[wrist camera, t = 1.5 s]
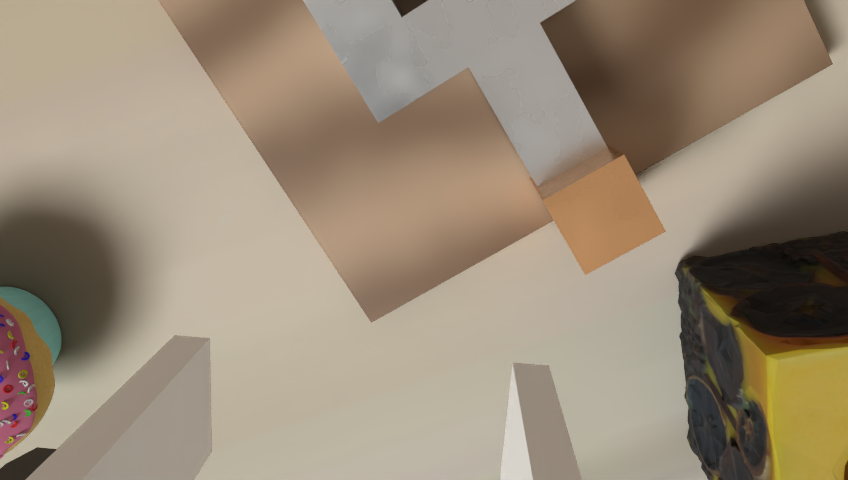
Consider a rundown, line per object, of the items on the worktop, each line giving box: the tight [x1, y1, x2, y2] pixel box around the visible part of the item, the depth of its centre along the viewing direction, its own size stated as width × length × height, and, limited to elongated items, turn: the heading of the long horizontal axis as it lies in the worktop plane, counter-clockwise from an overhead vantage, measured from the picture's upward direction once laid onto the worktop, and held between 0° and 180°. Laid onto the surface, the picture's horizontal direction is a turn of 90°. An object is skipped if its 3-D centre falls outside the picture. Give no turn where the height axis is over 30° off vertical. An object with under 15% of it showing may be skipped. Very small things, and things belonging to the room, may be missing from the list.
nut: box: [303, 0, 666, 275], centre depth 25 cm, size 20×11×5 cm, turn 31°
